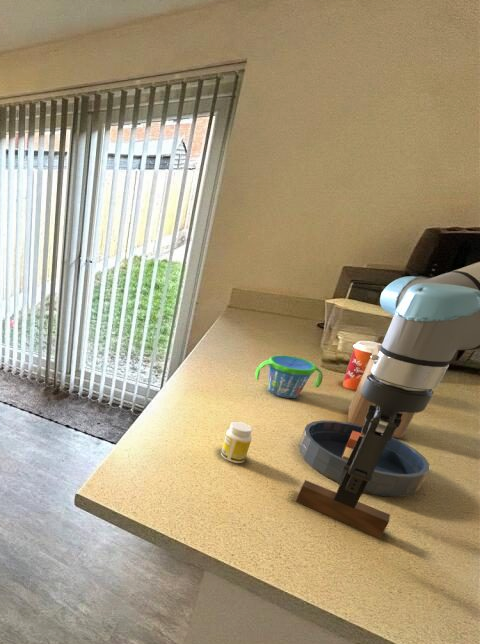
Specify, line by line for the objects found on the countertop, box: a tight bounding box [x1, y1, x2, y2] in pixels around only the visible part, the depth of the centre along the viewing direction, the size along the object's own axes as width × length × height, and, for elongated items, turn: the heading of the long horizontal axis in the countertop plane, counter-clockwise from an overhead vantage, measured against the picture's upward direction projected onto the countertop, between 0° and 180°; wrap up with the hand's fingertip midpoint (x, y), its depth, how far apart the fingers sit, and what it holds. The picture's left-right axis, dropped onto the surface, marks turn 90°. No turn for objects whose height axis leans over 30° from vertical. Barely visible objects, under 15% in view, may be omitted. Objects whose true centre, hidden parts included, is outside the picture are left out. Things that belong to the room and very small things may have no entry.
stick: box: [295, 479, 391, 539], centre depth 73 cm, size 12×2×4 cm, turn 42°
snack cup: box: [254, 354, 324, 399], centre depth 115 cm, size 16×11×10 cm
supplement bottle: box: [220, 421, 253, 464], centre depth 89 cm, size 5×5×8 cm
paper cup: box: [342, 340, 382, 392], centre depth 116 cm, size 8×8×14 cm
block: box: [347, 345, 416, 439], centre depth 97 cm, size 10×10×20 cm
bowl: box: [297, 419, 431, 498], centre depth 86 cm, size 20×20×6 cm
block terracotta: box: [343, 431, 363, 454], centre depth 88 cm, size 4×4×4 cm
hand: (349, 484), depth 71 cm, fingers open, 13 cm apart
